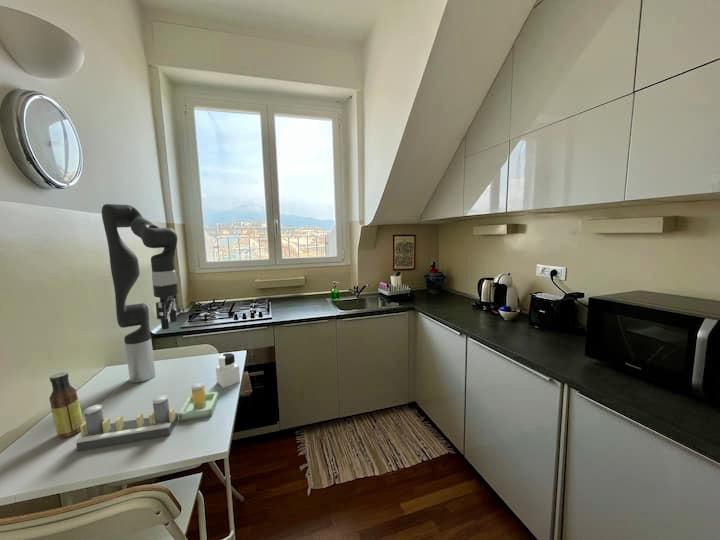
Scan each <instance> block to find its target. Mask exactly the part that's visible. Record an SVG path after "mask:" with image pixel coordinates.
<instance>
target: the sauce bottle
mask: <svg viewBox="0 0 720 540" xmlns="http://www.w3.org/2000/svg"><path fill="white" fill-rule="evenodd" d="M68 373H69V372H67V371H62V372H57V373H54V374H52V375H51V376H49V382H50V383H51V387H52V392H51V394H50V396H49V402H50V409H51V413H52V418H53V422H54V425H55V429H56V434H57V436H58V437H59V438H67V437H71V436H74V435H76V434H79V433H81V430H80V426H81V425H82V424H83V423H84V418H83V413H82V410H81V409H82V408H81V404H80V400H79V397H78V394H77V390H76V388H74V387H73V386H72V385H71V384H70V380H69V374H68Z"/></svg>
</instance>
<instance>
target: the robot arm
mask: <svg viewBox="0 0 720 540" xmlns="http://www.w3.org/2000/svg"><path fill="white" fill-rule="evenodd" d="M101 216H102V217H101V218H102V223H103V227H104V231H105V238H106V240H107V241H106V242H107V246H108V253H109V264H110V272H111V277H112V283H113V288H114V294H115V295H114V296H115V299H114V300H115V310H116V311H115V313H116V321H117V325H118V326H119V327H120V328H122V329H123V328H130V327H136V326H140V327H139V328H137V329H136V330H134V331H132V332H130V333H128V334H126V335H125V336H124V337H123V338H124V346H125V353H126V355H125V356H126V362H127V369H128V377H129V382H130V383H135V384H137V383H142V382H147V381H149V380H151V379H153V378H154V377H155V376H156V368H155V360H154V359H155V358H154V351H153V350H154V349H153V344H152V335H151V329H150V328H151V327H150V315H149V314H150V313H149V307H148V305H147V304H146V303H144V302H143V303H135V304H134V303H133V304H129V305H128V304H127V305H126V300H127V297H128V296H129V293H130V292H131V290H132V288H133V287H134V285H135V284H136V282H137V280H138V278H139V277H140V272H141V271H140V263H139V259H138V257H137V256H136V254H135V253H134V252H133V250H132V249H130V248H129V246H128V245H127V244H126V243H125V242H124V240H123V239H122V238H121V236H120V233H119V231H118V229H119V228H130V230H131V232H132V233H133V234H134V235H136V236H137V237H138V238H140V239H141V240H142V241H141V242H142V244H143V245H144V247H146V248H149V249H161V248H163V250H162V252H160V253H156V254H153V255H152V256H151V258H150V263H151V264H150V265H151V274H152V275H151V279H152V280H151V281H152V291H153V297H155V298H159V302H158V301H157V302H155V308H156V319H157V320H160V324H161V330H169V329H170V323H175V322H177V321H178V316H177V311H178V309H179V303H178V294H179V288H178V286H179V285H178V279H177V278H178V277H177V273H176V267H175V266H176V265H175V254H176V248H177V246H178V245H177V243H178V234H177V233H176V231H175V230H174V229H173V228H171V227H159V226H158V225H157V224H156V223H154V222H152V221H150V220H148V219H147V218H145V216H144V215H143V214H142V213H141V212H140V211H139V210H138V209H137V208H136V207H135V206H132V205H131V204H130V205H129V204H117V203H116V204H115V203H110V204H109V203H108V204H107V203H106V204H103V206H102V207H101Z"/></svg>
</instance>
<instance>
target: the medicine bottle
mask: <svg viewBox="0 0 720 540" xmlns="http://www.w3.org/2000/svg"><path fill="white" fill-rule="evenodd" d="M215 373H216V383H218V385H220V386H221V388H222V389H224V388H228V387H230V386H233V385H235V384H238V383H240V382H241V375H240V374H241V373H240V366H239V365H238V364H237V363H236V361H235V354H234V353H231V352H229V353H223V354H221V355H219V356H218V365H217V366H215Z"/></svg>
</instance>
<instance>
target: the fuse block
mask: <svg viewBox="0 0 720 540" xmlns="http://www.w3.org/2000/svg"><path fill="white" fill-rule="evenodd" d="M178 414H179V413H178V412H176V411H175V407H172V408H170V409H169V419H170V421H169V422H168V423H165V424H159V425H155V417H154V410H153V411H151V412H150V413H149V415H148V417H145V418H144V412H140V413H138V415H137V416H136V417H135V419H132V420H126V421H124V418H123V415H120V416H118V417H117V418H116V420H114V422H113V423H111V418H110V417H106V419H104V422H103V423H102V426H103V433H102V434H99V435H92V436H88V433H87V427H86V421H83V424H82V425H81V426H80V430H81V431H80V435H81V437H79V438H78V439H77V440H76V442H75V443H76V450H77V452H81V451H88V450H92V449H98V448H99V449H100V448H105V447H111V446H116V445H122V444H127V443H134V442H139V441H144V440H149V439H157V438H162V437H169V436H170V435H171V434H172V432H173V430H174V429H175V427H176V425H177V423H178V422H179V416H178Z"/></svg>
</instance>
